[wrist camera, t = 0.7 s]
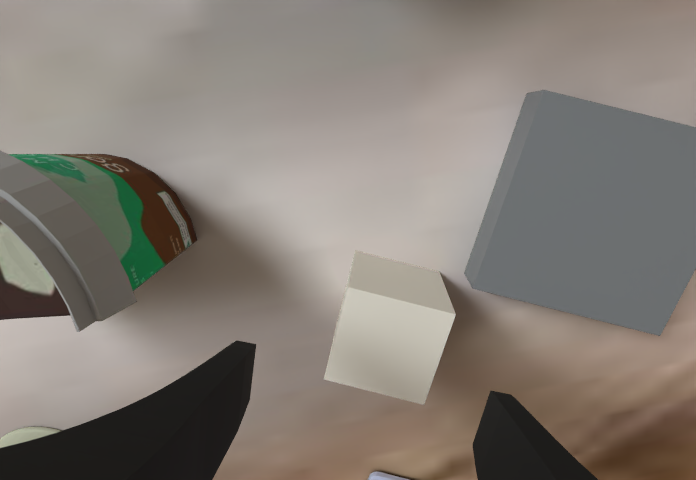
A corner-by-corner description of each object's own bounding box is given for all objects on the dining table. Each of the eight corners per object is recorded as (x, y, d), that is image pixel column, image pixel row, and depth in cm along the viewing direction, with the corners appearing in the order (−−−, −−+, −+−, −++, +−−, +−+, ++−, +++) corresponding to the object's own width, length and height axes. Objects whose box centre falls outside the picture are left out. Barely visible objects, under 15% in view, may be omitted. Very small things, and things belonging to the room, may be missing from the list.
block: (414, 344, 22) (424, 404, 18) (336, 324, 22) (323, 379, 18) (439, 271, 21) (455, 314, 16) (355, 249, 21) (347, 286, 16)
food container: (201, 117, 20) (31, 112, 10) (224, 238, 21) (96, 331, 12) (-24, 142, 21) (-363, 157, 11) (14, 254, 23) (-255, 348, 13)
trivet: (634, 316, 21) (660, 335, 19) (464, 273, 21) (472, 288, 19) (721, 141, 18) (761, 143, 16) (526, 93, 18) (543, 89, 16)
